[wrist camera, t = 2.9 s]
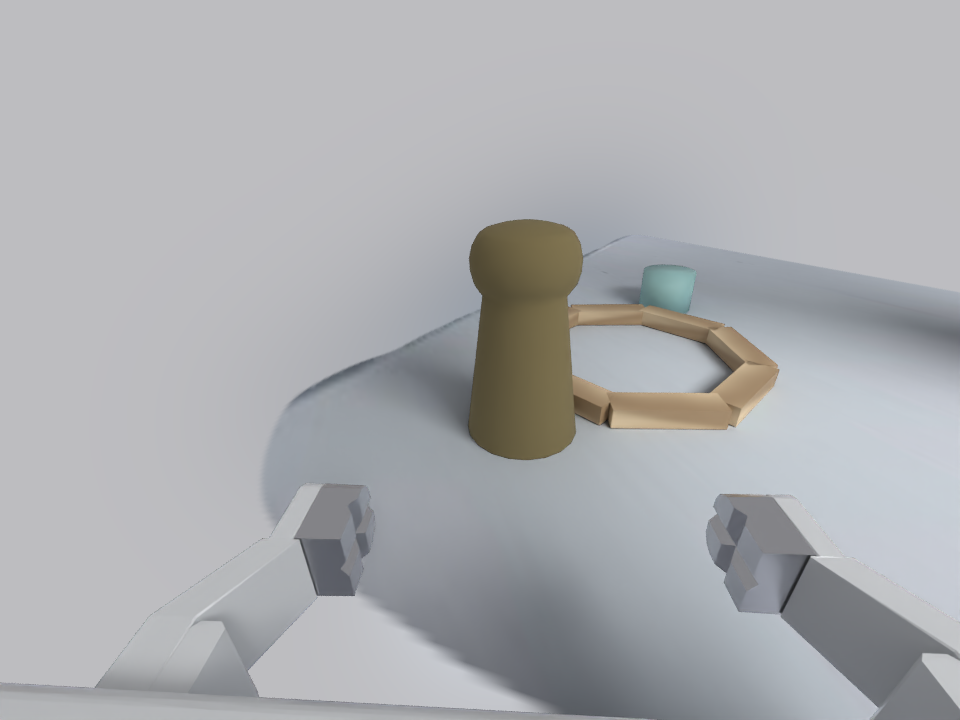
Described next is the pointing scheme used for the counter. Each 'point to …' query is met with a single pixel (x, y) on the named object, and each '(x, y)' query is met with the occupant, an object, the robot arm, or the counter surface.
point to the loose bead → (667, 287)
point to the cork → (524, 338)
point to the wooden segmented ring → (676, 408)
